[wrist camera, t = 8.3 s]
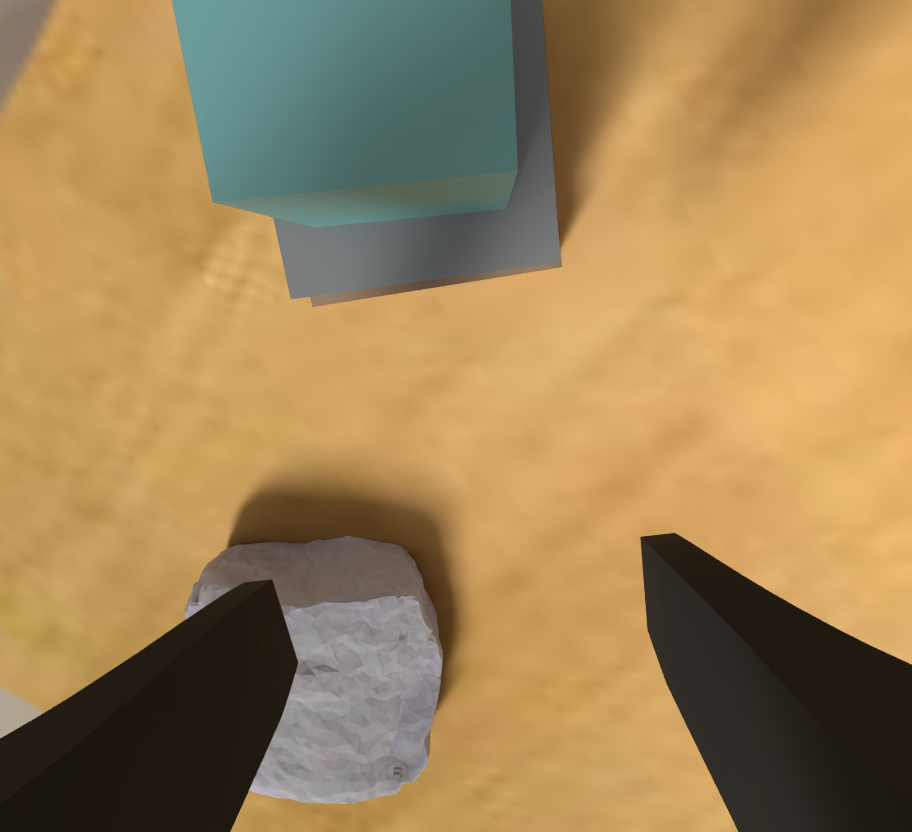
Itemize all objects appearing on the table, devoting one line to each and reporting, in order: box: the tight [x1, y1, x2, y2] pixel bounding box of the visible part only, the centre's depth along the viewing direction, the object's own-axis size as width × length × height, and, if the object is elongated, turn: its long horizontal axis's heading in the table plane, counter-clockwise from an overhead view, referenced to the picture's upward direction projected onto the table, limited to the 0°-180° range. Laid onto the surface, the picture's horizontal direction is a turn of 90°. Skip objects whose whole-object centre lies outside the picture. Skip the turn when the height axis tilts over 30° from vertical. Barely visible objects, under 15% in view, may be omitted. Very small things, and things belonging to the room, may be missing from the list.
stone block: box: [185, 536, 443, 804], centre depth 22 cm, size 12×5×10 cm
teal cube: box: [172, 0, 518, 227], centre depth 9 cm, size 5×5×5 cm
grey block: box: [273, 0, 560, 299], centre depth 13 cm, size 7×7×3 cm
